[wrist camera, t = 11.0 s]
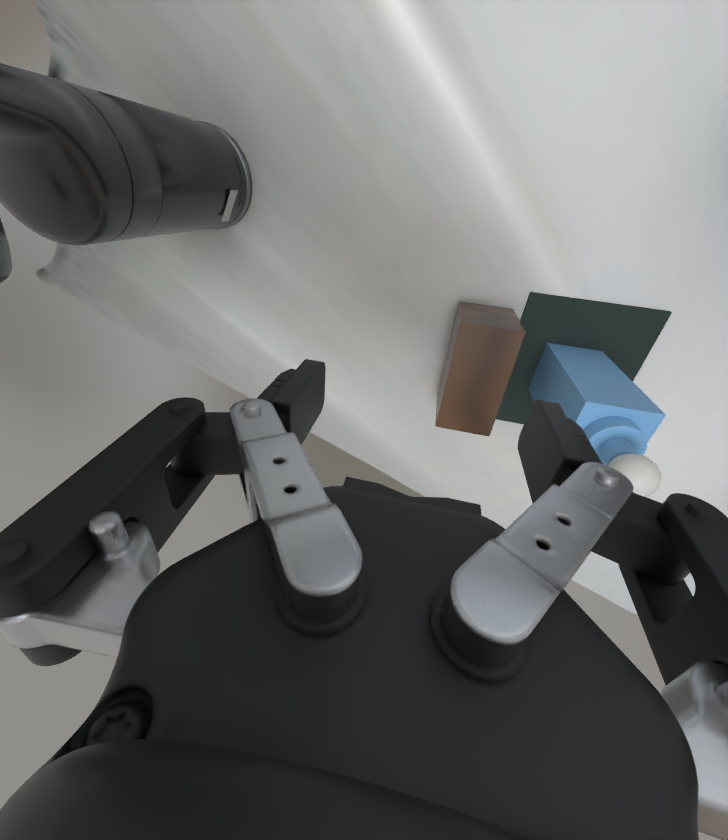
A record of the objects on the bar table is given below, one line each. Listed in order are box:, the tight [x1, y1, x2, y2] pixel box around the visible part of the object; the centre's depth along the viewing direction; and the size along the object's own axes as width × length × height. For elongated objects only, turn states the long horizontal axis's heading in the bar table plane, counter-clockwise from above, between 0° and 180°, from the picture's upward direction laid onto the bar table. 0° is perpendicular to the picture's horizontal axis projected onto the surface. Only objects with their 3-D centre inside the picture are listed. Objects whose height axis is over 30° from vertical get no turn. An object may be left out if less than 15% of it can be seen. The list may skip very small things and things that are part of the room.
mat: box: [496, 292, 672, 424], centre depth 41 cm, size 14×16×1 cm
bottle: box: [529, 343, 665, 497], centre depth 34 cm, size 14×6×19 cm, turn 85°
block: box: [435, 302, 526, 436], centre depth 40 cm, size 6×12×8 cm, turn 175°
